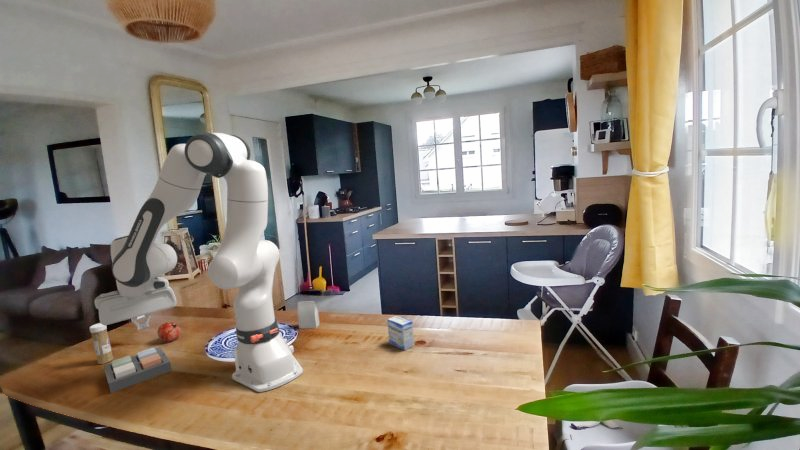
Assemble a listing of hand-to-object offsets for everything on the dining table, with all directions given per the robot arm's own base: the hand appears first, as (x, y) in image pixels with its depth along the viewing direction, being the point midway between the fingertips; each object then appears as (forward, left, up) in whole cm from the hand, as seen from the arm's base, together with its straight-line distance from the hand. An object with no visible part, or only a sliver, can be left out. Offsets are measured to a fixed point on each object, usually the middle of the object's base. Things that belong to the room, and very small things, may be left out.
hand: (143, 328), depth 122 cm
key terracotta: (0, 0, -13) cm, 13 cm away
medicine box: (-51, -63, -15) cm, 82 cm away
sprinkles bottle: (+23, +10, -15) cm, 30 cm away
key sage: (+7, +7, -13) cm, 16 cm away
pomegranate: (+23, -10, -15) cm, 29 cm away
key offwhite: (0, +7, -13) cm, 14 cm away
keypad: (+3, +3, -15) cm, 15 cm away
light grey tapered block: (-11, -51, -15) cm, 54 cm away
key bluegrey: (+7, 0, -13) cm, 14 cm away
